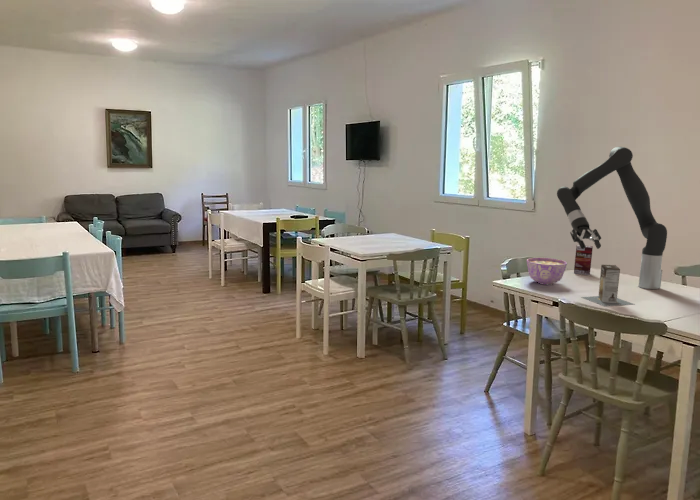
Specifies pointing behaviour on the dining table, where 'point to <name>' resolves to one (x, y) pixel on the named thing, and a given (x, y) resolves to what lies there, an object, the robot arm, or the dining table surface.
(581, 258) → the supplement box
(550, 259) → the bowl of food
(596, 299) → the mat
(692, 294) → the dining table surface
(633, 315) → the dining table surface
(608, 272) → the coffee box
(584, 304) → the dining table surface
